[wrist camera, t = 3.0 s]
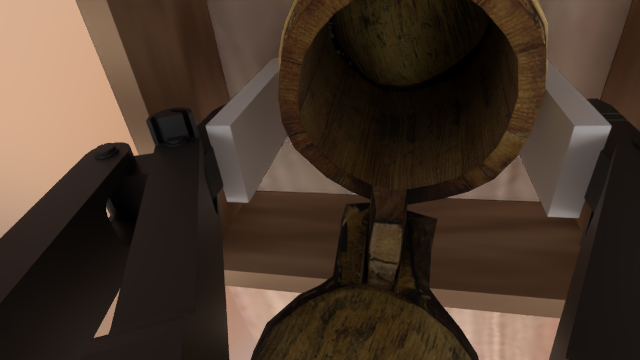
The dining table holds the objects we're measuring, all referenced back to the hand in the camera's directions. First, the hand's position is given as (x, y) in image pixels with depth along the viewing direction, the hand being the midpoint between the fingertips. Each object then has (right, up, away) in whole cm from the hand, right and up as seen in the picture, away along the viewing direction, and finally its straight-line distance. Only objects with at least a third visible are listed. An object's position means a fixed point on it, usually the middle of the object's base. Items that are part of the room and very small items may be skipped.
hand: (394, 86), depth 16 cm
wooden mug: (+1, +2, +3) cm, 4 cm away
